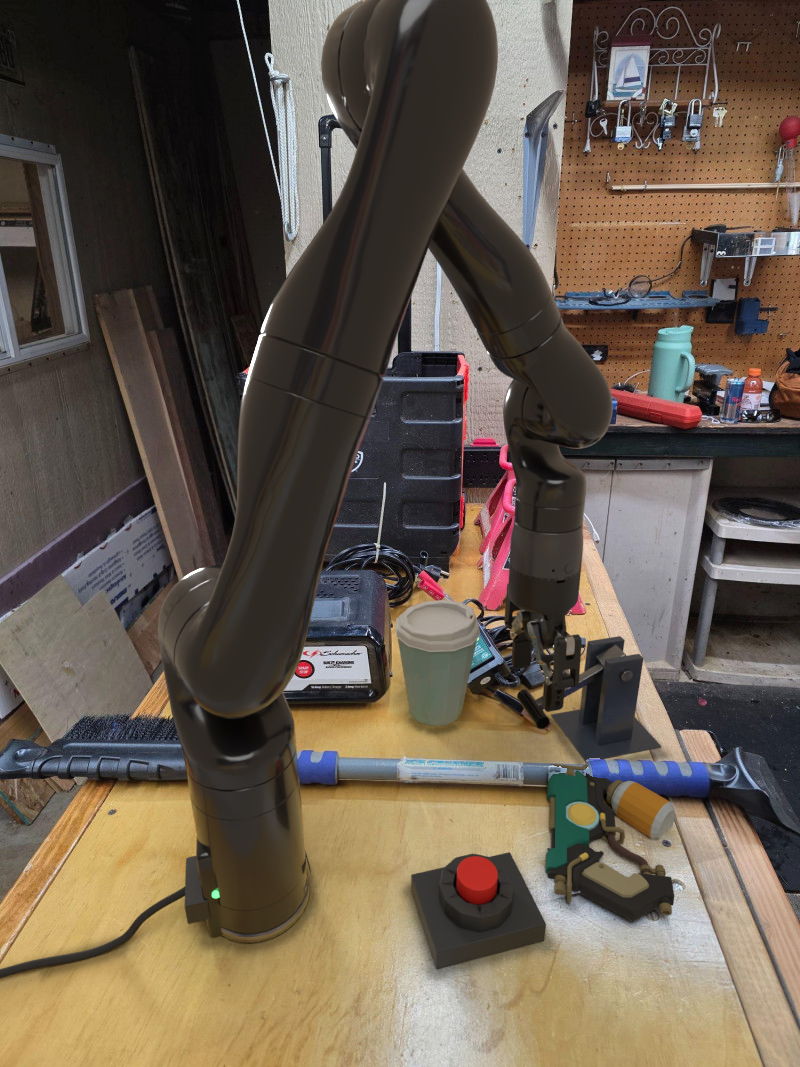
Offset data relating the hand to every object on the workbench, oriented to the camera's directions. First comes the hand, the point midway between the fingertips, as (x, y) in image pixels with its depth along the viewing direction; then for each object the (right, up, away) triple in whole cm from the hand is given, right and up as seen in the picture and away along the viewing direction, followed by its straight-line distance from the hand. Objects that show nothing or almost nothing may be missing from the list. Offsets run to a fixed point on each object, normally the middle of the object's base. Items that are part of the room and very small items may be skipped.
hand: (535, 686), depth 80 cm
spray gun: (+5, -14, -9) cm, 18 cm away
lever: (+5, -1, +2) cm, 6 cm away
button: (-9, -14, -18) cm, 24 cm away
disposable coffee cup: (-11, -6, +11) cm, 16 cm away
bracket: (+10, -8, +6) cm, 14 cm away
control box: (-9, -17, -17) cm, 25 cm away
